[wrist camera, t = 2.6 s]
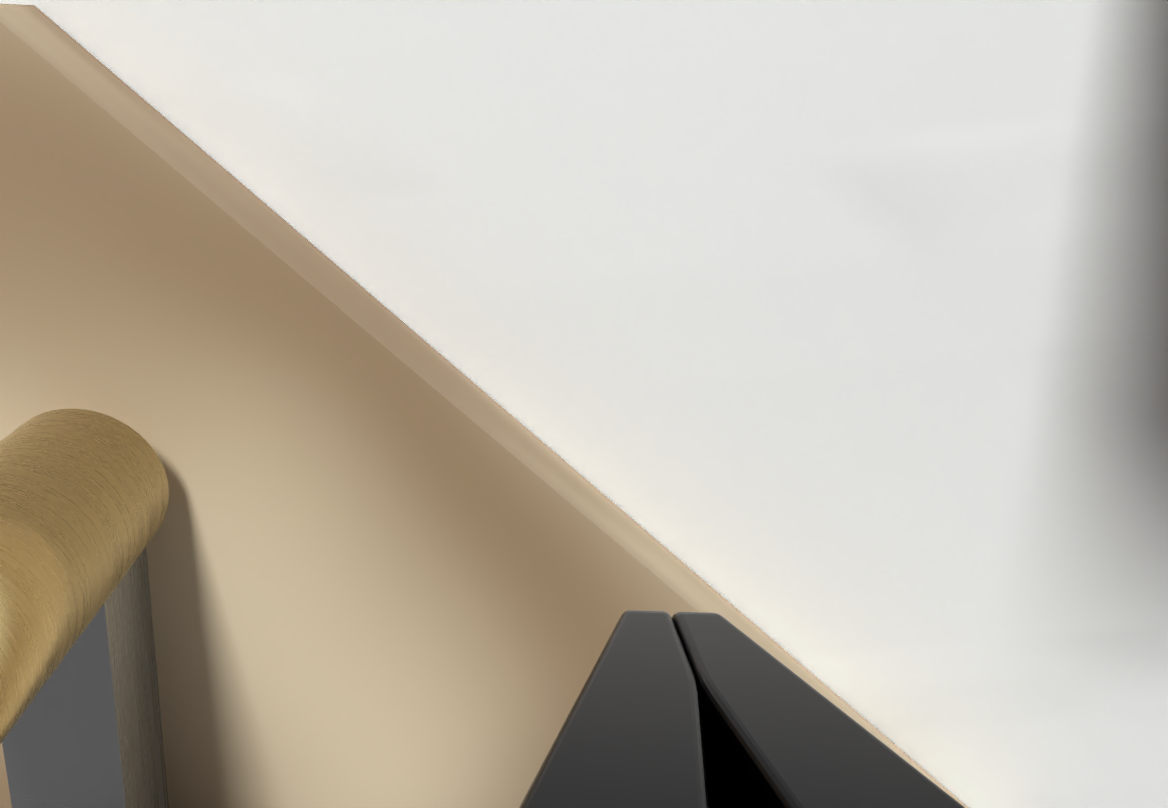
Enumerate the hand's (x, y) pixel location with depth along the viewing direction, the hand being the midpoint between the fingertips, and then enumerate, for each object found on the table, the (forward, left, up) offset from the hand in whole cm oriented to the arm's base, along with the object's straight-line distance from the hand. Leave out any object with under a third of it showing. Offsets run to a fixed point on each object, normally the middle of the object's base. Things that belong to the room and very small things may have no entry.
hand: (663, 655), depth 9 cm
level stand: (-9, 0, -4) cm, 11 cm away
